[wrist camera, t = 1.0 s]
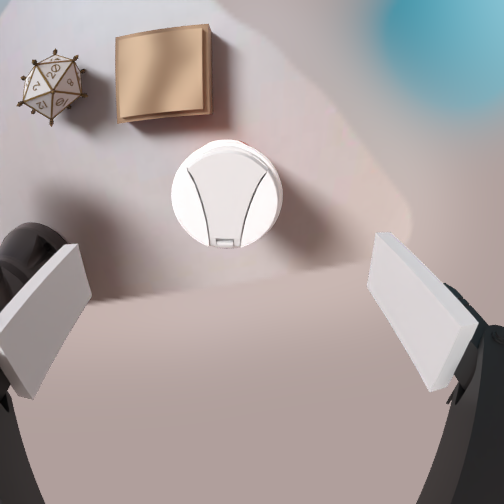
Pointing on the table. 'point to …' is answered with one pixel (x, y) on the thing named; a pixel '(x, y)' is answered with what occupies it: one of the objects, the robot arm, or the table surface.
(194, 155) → the coffee cup
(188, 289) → the table surface
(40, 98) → the game die
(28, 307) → the robot arm
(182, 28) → the plinth
